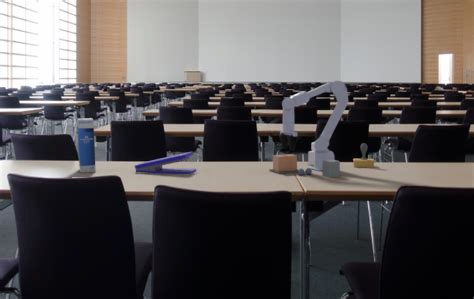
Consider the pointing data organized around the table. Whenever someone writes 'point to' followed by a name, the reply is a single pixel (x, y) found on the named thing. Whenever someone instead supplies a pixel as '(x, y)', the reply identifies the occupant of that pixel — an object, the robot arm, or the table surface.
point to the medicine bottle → (311, 155)
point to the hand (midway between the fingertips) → (288, 149)
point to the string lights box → (86, 145)
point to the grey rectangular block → (331, 168)
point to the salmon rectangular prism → (284, 162)
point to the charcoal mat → (283, 171)
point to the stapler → (156, 165)
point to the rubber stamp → (363, 159)
